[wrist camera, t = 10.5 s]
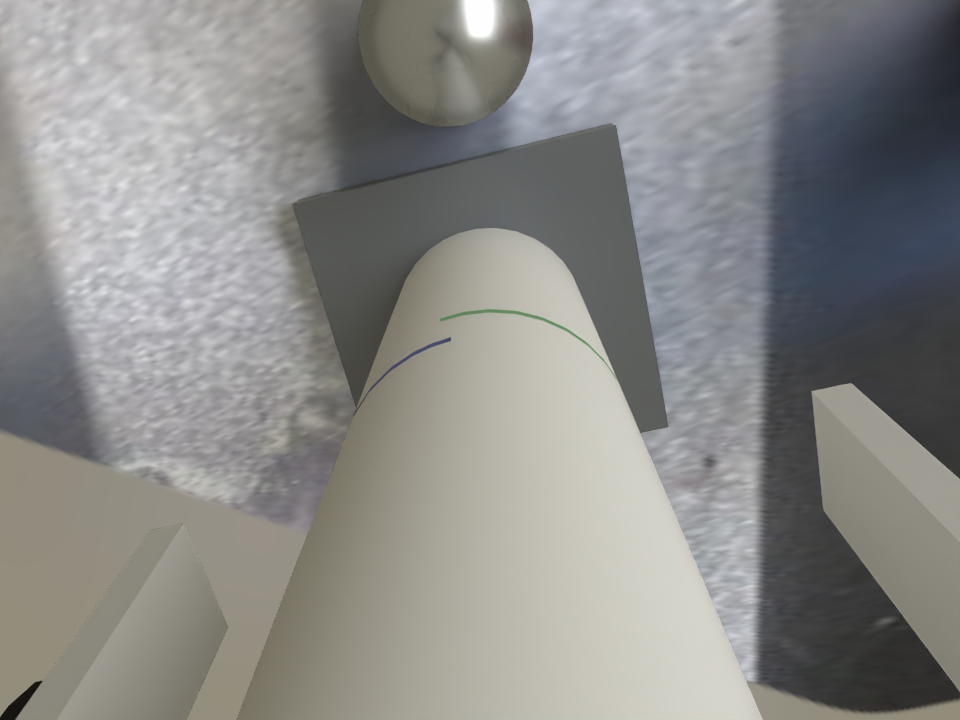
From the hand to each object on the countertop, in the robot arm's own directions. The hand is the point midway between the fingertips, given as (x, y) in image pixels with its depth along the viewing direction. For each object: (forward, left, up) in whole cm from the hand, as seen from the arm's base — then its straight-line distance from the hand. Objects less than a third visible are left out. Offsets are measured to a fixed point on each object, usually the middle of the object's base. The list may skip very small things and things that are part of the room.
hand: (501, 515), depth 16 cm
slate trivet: (0, 0, -16) cm, 16 cm away
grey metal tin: (-10, +1, -16) cm, 19 cm away
